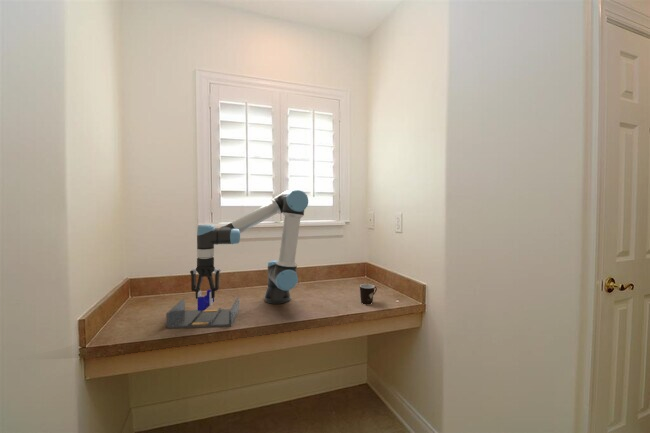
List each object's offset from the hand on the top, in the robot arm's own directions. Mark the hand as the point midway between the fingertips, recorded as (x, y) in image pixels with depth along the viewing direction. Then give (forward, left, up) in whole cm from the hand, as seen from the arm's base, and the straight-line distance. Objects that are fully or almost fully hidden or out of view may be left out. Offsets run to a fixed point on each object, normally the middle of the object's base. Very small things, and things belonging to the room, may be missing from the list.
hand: (205, 304), depth 133 cm
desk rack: (0, 0, -7) cm, 7 cm away
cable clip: (0, +1, -1) cm, 1 cm away
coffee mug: (-86, -16, -7) cm, 88 cm away
